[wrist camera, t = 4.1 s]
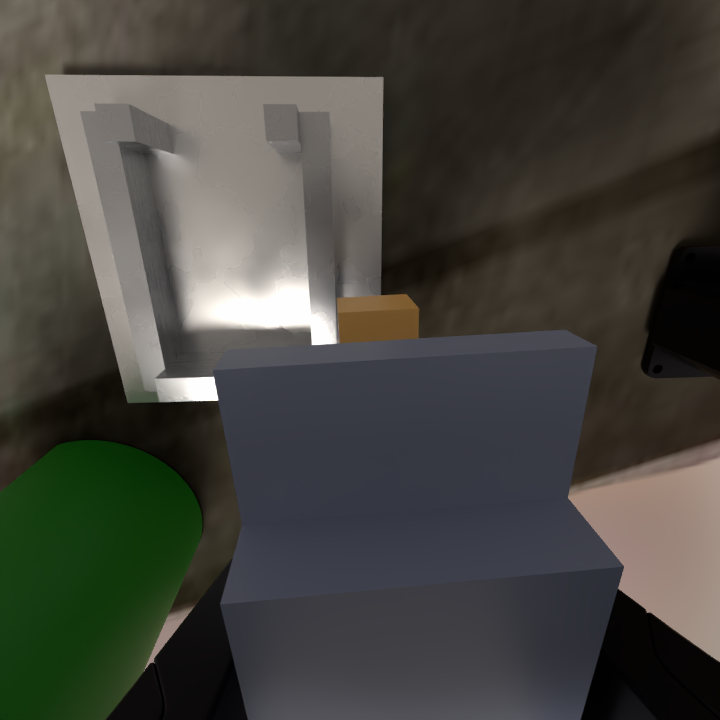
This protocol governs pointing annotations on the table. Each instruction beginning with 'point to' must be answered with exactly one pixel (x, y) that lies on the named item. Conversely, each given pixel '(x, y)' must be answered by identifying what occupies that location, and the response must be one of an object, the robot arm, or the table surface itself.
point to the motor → (88, 576)
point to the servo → (412, 524)
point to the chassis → (222, 213)
